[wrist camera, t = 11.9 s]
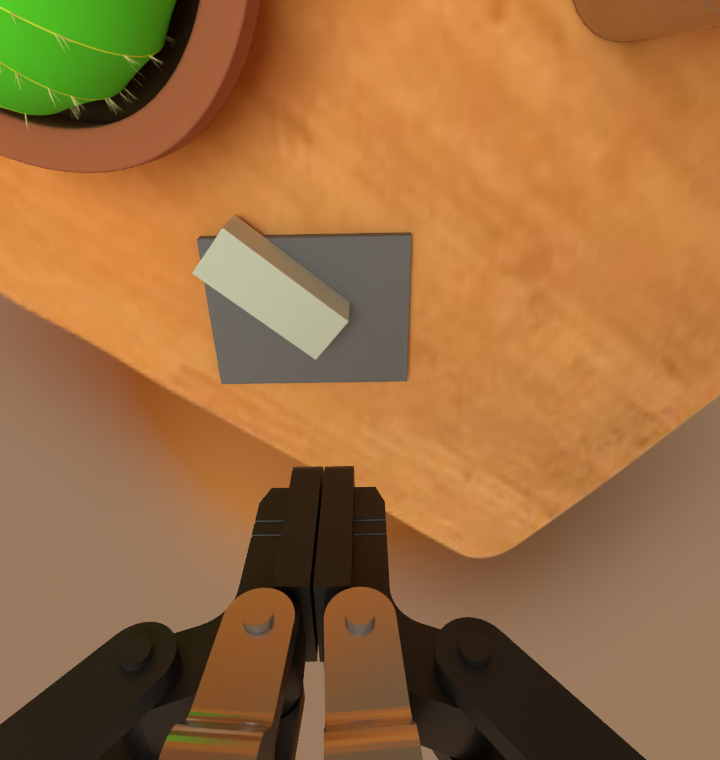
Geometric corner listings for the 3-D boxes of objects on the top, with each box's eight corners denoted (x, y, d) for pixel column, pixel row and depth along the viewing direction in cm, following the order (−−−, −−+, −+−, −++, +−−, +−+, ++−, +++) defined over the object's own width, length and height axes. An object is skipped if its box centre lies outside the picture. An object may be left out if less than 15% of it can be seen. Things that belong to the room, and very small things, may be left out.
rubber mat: (410, 232, 44) (411, 235, 44) (406, 376, 51) (406, 381, 50) (200, 236, 45) (197, 239, 44) (223, 378, 52) (221, 383, 51)
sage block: (348, 321, 43) (222, 227, 39) (315, 359, 44) (192, 273, 41) (349, 302, 47) (235, 215, 43) (319, 337, 48) (206, 257, 45)
